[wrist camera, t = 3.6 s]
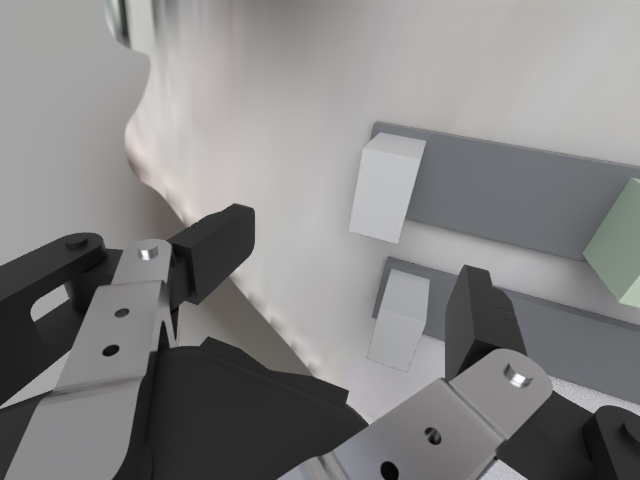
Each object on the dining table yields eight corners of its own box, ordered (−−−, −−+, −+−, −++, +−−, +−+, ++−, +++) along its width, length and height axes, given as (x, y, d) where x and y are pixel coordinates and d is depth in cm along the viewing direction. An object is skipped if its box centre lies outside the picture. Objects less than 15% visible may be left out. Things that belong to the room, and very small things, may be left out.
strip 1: (915, 214, 15) (1141, 283, 10) (802, 308, 18) (933, 396, 13) (376, 121, 21) (355, 136, 16) (360, 203, 24) (339, 236, 19)
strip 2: (808, 372, 19) (929, 474, 14) (732, 426, 22) (810, 525, 17) (388, 256, 25) (374, 300, 21) (373, 311, 28) (358, 360, 24)
